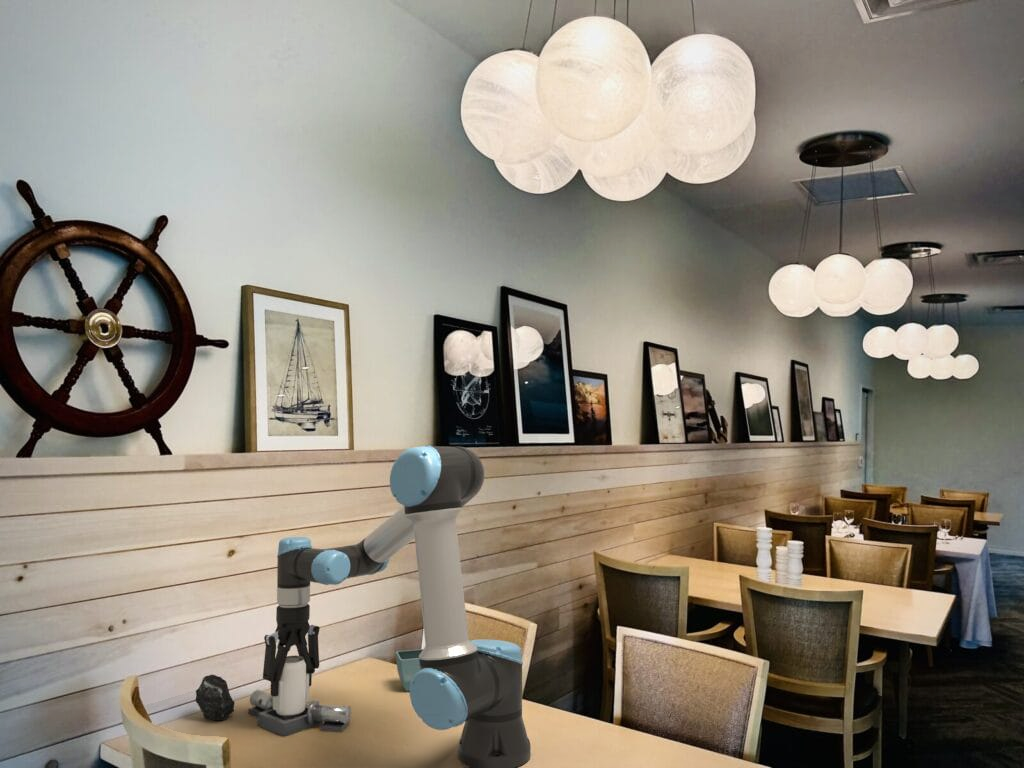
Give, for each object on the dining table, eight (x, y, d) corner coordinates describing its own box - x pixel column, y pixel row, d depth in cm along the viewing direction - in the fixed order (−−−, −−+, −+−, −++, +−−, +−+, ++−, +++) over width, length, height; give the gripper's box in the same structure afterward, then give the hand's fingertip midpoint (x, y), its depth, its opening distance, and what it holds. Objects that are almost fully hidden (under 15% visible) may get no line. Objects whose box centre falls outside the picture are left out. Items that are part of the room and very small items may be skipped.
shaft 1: (286, 715, 176) (286, 691, 177) (266, 721, 172) (267, 697, 173) (265, 707, 182) (266, 684, 182) (246, 713, 178) (247, 689, 178)
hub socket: (322, 723, 171) (322, 710, 172) (283, 736, 163) (283, 723, 164) (296, 713, 178) (296, 701, 178) (257, 725, 170) (258, 713, 170)
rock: (191, 722, 172) (193, 678, 173) (212, 711, 179) (213, 669, 180) (220, 725, 170) (221, 681, 171) (239, 715, 177) (241, 672, 178)
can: (296, 717, 167) (297, 663, 168) (270, 715, 168) (272, 661, 170) (310, 708, 173) (311, 655, 175) (284, 706, 175) (286, 654, 176)
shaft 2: (306, 730, 167) (307, 704, 168) (316, 721, 172) (316, 697, 173) (343, 732, 166) (343, 706, 166) (351, 724, 171) (352, 699, 171)
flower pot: (394, 684, 199) (395, 650, 200) (427, 681, 202) (427, 648, 203) (399, 695, 191) (400, 659, 192) (433, 691, 194) (433, 656, 194)
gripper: (318, 595, 183) (316, 691, 181) (247, 609, 168) (244, 713, 166) (336, 599, 178) (335, 698, 176) (265, 613, 163) (262, 721, 161)
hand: (291, 705), depth 171 cm, fingers closed on can, 6 cm apart
